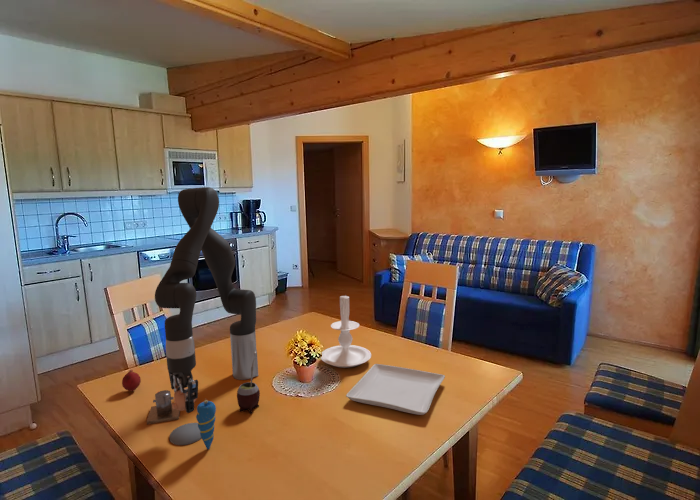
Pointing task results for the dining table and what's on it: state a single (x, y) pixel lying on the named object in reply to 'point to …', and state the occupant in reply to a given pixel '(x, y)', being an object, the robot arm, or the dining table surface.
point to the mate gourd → (248, 394)
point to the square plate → (397, 388)
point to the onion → (131, 381)
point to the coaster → (185, 434)
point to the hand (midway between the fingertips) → (185, 407)
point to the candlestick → (345, 342)
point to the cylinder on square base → (162, 408)
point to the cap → (179, 400)
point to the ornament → (206, 421)
